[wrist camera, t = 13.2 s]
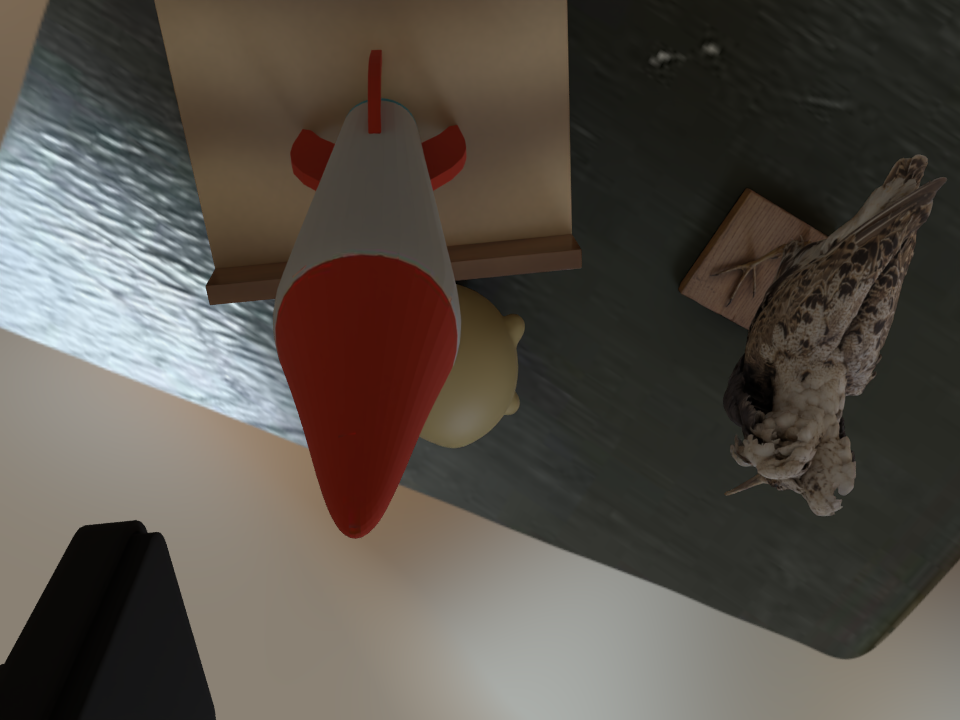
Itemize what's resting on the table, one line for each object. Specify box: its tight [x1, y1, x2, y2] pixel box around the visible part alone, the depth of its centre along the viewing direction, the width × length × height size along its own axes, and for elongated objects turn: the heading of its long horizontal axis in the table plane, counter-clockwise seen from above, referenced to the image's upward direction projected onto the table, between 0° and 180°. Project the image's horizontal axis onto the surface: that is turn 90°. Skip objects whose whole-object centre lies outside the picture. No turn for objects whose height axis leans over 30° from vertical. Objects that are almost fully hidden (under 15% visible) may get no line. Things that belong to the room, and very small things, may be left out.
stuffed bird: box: [679, 155, 947, 516], centre depth 47 cm, size 10×20×17 cm, turn 170°
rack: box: [154, 0, 582, 305], centre depth 42 cm, size 14×18×12 cm
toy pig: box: [419, 284, 525, 448], centre depth 50 cm, size 10×12×11 cm
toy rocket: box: [273, 50, 466, 539], centre depth 26 cm, size 6×6×30 cm
